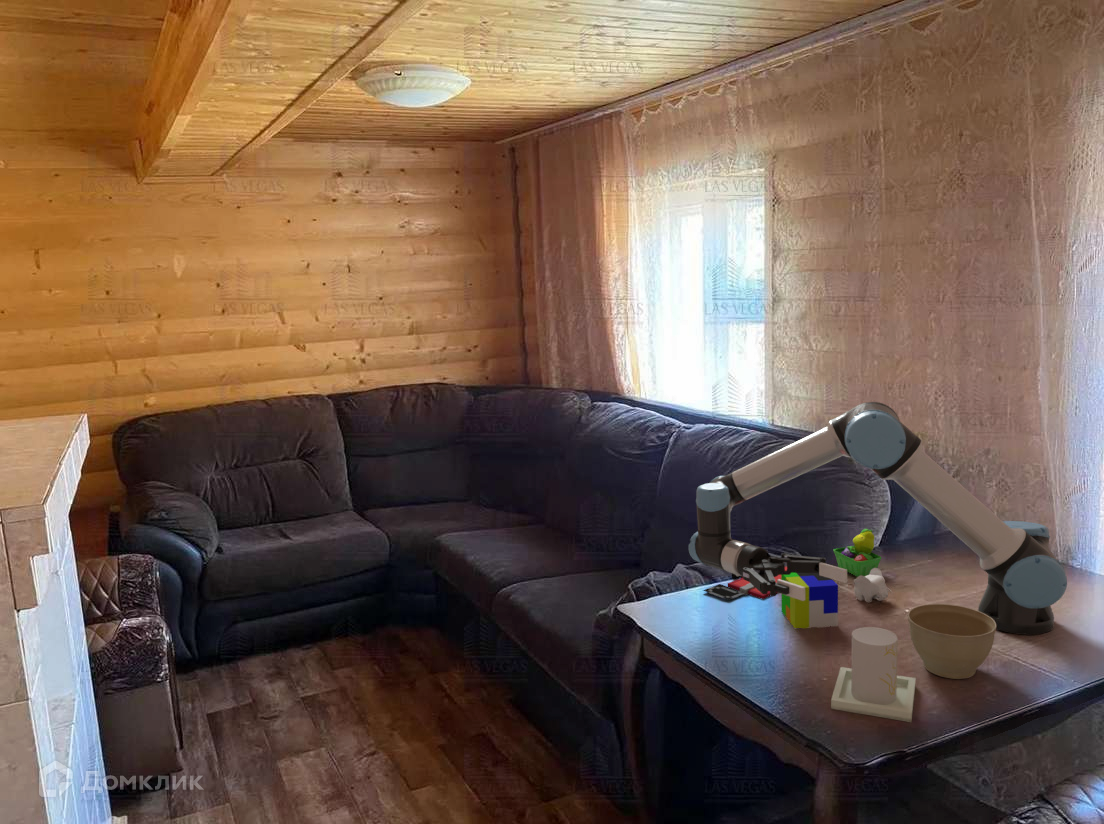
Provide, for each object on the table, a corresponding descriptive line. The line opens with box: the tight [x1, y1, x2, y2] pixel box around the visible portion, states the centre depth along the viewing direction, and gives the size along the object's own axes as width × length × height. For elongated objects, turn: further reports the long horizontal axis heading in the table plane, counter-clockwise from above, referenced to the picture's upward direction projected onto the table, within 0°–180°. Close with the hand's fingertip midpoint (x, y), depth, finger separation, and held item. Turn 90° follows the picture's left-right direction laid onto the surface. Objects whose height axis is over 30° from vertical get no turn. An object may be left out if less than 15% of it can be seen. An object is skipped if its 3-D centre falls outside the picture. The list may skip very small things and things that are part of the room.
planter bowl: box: [907, 603, 997, 680], centre depth 173 cm, size 16×16×11 cm
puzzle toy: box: [781, 573, 839, 629], centre depth 200 cm, size 10×10×10 cm
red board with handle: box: [702, 567, 787, 601], centre depth 224 cm, size 30×3×15 cm
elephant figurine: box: [853, 568, 894, 603], centre depth 209 cm, size 8×10×7 cm
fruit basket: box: [833, 528, 882, 578], centre depth 228 cm, size 11×9×11 cm
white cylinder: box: [851, 626, 898, 705], centre depth 163 cm, size 8×8×12 cm
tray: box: [830, 666, 917, 723], centre depth 164 cm, size 14×14×2 cm
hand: (825, 585), depth 175 cm, fingers open, 13 cm apart
